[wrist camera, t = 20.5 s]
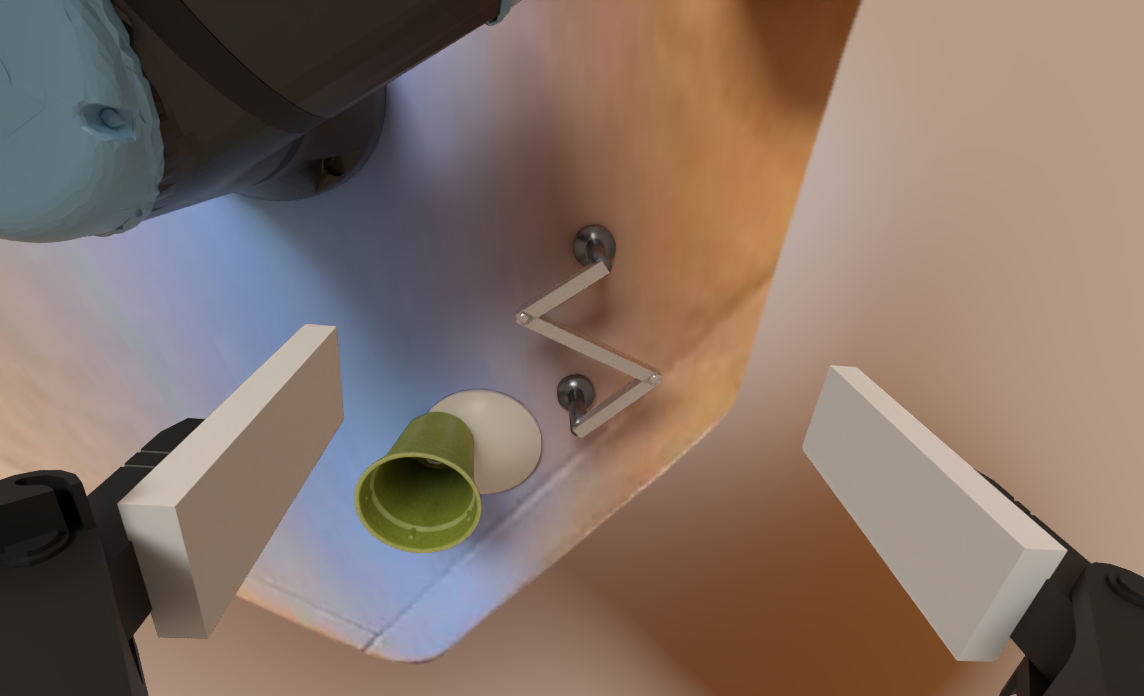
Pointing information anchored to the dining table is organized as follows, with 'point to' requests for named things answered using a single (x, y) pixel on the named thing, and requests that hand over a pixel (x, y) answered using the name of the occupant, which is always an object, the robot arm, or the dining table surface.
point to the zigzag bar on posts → (577, 390)
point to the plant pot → (422, 487)
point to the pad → (496, 436)
